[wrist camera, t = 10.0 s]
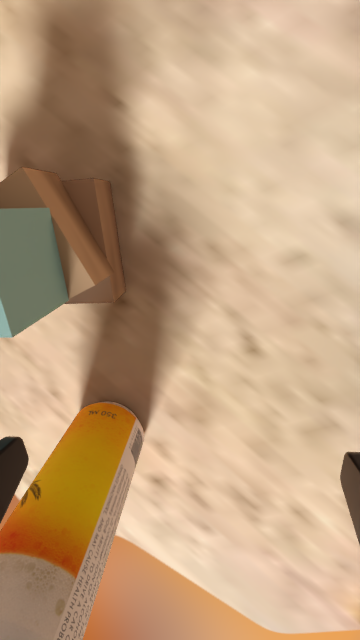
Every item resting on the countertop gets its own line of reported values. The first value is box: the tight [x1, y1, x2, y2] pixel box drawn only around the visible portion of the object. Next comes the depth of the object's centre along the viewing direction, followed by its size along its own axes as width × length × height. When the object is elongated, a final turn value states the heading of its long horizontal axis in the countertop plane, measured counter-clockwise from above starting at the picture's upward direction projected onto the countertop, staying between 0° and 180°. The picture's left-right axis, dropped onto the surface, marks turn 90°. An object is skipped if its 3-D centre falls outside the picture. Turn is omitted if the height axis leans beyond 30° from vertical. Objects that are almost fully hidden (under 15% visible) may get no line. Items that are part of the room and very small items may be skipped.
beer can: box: [0, 402, 144, 640], centre depth 18 cm, size 6×6×15 cm
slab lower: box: [61, 178, 126, 304], centre depth 18 cm, size 7×7×3 cm
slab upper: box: [0, 167, 114, 299], centre depth 16 cm, size 6×6×3 cm
